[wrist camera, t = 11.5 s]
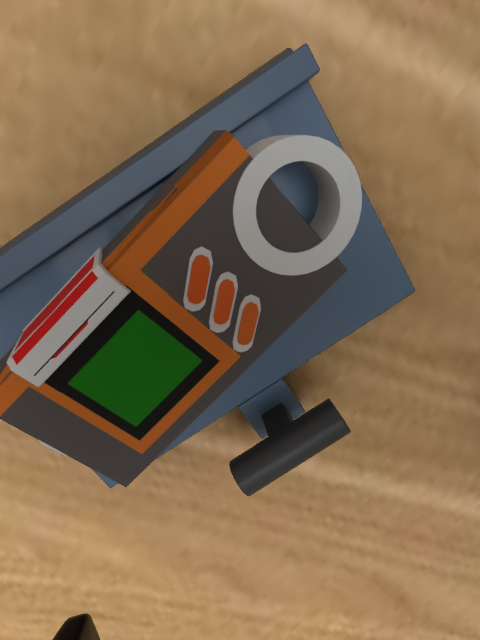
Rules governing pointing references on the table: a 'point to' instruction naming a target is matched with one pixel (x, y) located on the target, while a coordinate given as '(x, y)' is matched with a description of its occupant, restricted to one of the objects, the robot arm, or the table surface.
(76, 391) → the electronic device
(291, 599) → the table surface
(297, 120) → the board
